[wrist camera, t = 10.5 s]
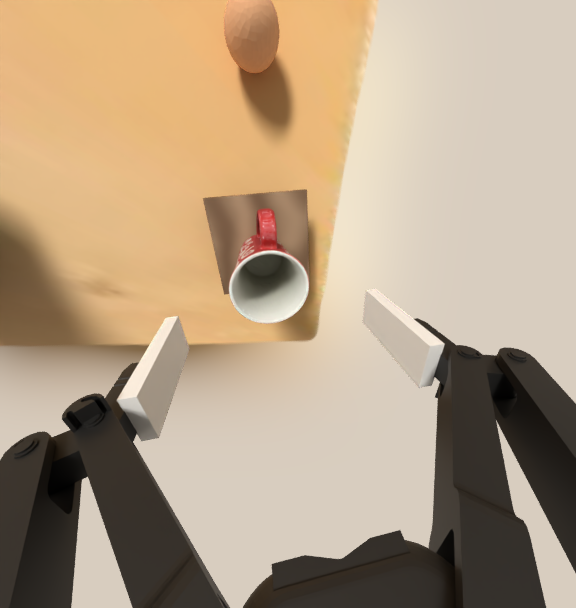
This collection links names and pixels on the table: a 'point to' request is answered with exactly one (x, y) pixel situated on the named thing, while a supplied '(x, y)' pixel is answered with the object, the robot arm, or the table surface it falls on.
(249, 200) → the stool
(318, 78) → the table surface
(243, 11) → the egg
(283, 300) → the mug
